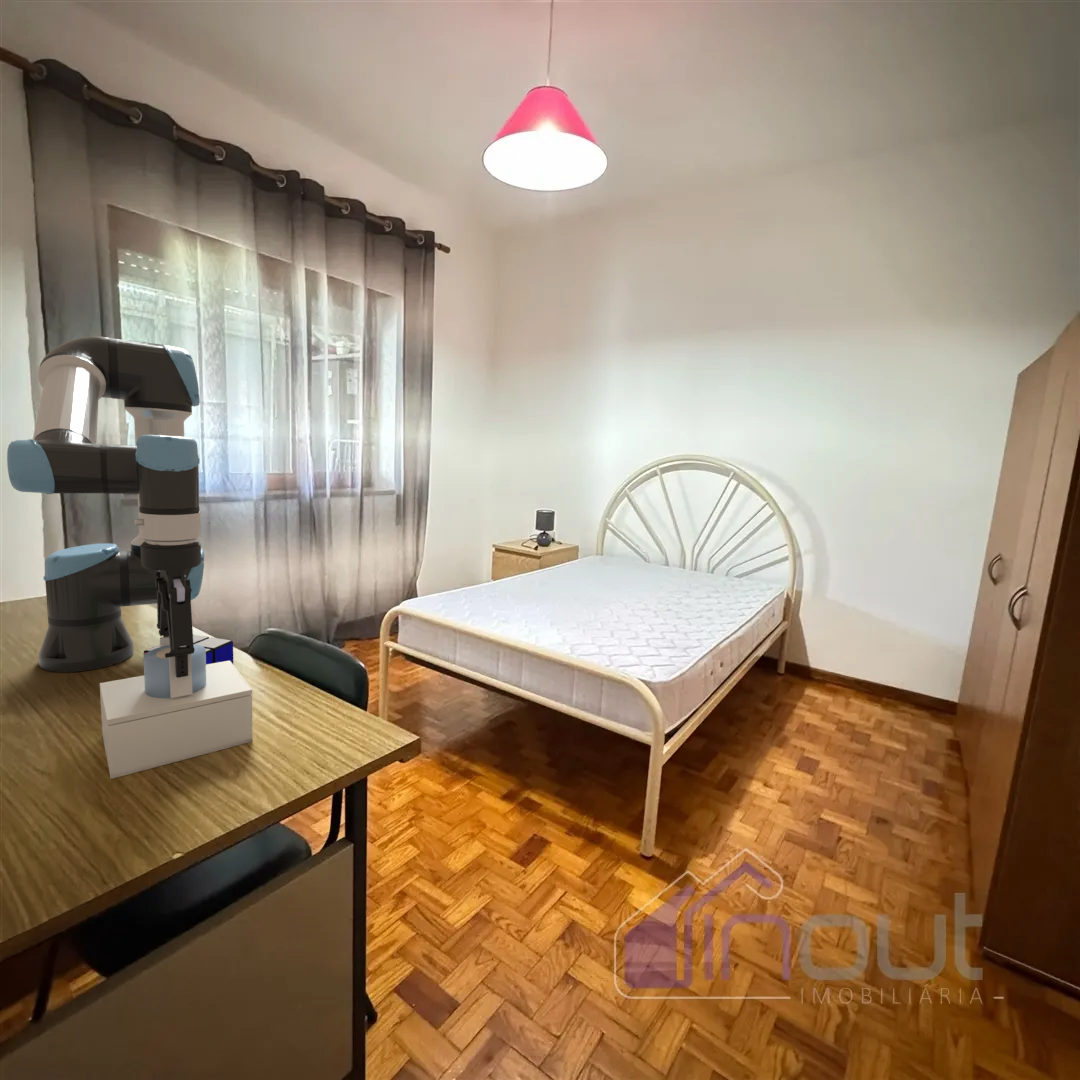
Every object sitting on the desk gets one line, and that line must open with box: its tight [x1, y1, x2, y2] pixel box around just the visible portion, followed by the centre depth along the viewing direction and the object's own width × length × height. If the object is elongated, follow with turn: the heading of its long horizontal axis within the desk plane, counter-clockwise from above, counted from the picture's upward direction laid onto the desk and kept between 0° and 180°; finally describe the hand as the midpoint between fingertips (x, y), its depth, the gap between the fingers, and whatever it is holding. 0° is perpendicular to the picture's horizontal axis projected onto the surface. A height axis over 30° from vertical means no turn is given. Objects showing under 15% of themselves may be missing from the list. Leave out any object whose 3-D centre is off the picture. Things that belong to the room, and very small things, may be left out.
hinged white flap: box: [99, 661, 253, 725], centre depth 87 cm, size 14×18×1 cm
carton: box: [99, 690, 254, 780], centre depth 88 cm, size 14×18×8 cm
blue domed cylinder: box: [143, 644, 206, 698], centre depth 86 cm, size 8×8×6 cm
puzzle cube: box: [143, 634, 234, 665], centre depth 102 cm, size 10×10×10 cm
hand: (176, 684), depth 87 cm, fingers closed on blue domed cylinder, 8 cm apart
